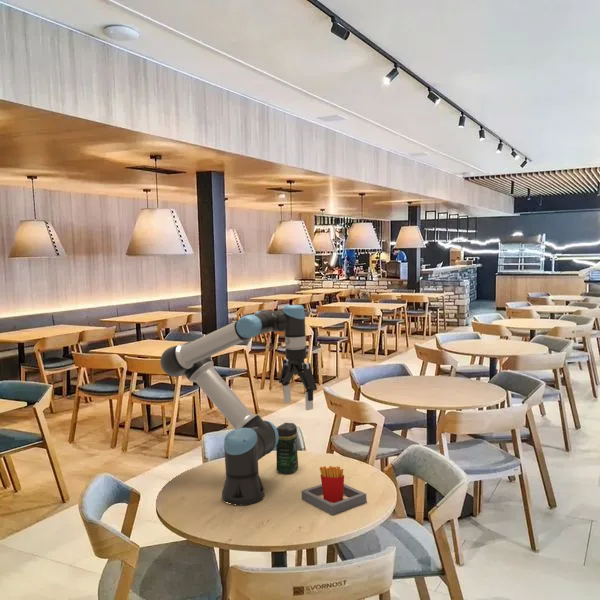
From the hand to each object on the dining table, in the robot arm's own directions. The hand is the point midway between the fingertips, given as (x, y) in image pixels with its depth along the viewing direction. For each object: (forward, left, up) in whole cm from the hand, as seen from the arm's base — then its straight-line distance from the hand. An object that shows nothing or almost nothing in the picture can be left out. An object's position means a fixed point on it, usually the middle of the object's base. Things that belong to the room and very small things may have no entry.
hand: (298, 406), depth 210 cm
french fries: (+15, +2, -31) cm, 35 cm away
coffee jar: (-19, +7, -31) cm, 37 cm away
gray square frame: (+16, +2, -31) cm, 35 cm away
